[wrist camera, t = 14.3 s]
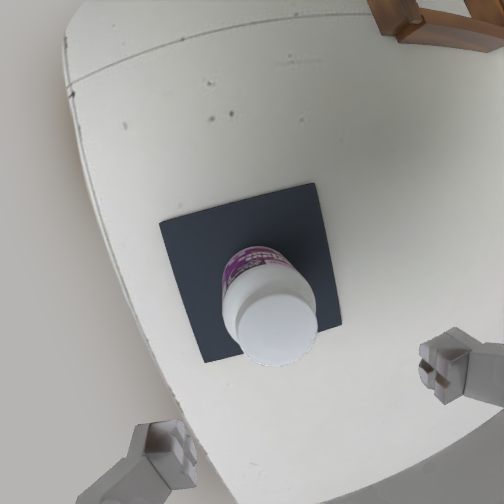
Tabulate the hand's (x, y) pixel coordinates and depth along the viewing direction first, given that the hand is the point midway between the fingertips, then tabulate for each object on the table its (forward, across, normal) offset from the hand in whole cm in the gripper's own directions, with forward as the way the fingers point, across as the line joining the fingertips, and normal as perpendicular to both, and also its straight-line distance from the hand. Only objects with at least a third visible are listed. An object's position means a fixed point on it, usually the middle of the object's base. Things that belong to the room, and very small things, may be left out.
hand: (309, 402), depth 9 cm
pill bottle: (+16, 0, 0) cm, 16 cm away
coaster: (+16, 0, 0) cm, 16 cm away
